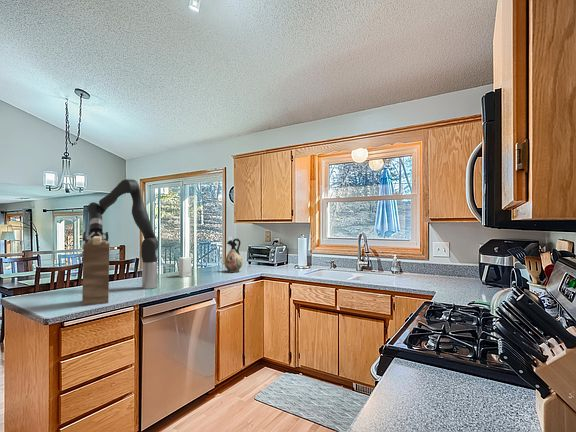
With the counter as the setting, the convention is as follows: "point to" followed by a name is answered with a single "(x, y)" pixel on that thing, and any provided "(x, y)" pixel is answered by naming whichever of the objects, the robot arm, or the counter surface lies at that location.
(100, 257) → the walnut stand
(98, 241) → the beech bar
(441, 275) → the counter surface
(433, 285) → the counter surface
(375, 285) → the counter surface
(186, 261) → the skincare box
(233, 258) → the ceramic jug
